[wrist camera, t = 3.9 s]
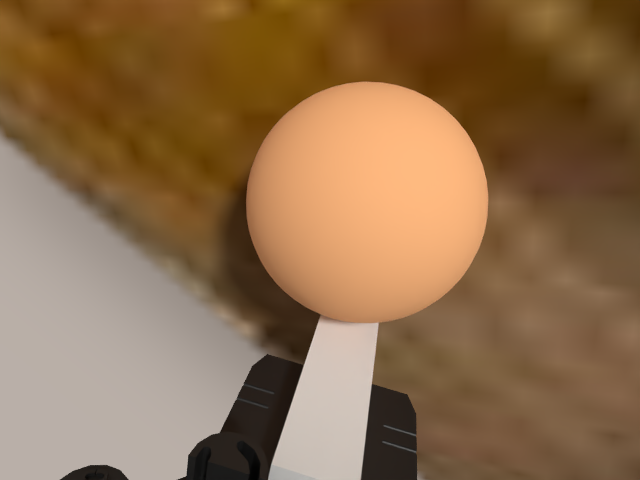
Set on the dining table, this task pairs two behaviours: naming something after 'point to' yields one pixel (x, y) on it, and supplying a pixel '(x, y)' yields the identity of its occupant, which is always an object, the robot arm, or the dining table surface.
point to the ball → (367, 202)
